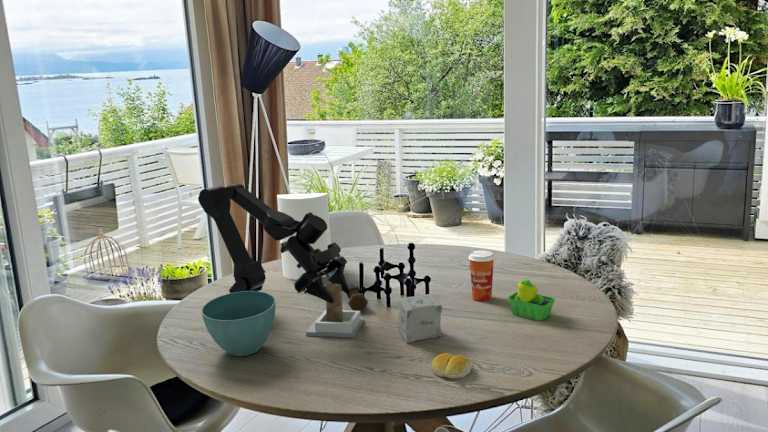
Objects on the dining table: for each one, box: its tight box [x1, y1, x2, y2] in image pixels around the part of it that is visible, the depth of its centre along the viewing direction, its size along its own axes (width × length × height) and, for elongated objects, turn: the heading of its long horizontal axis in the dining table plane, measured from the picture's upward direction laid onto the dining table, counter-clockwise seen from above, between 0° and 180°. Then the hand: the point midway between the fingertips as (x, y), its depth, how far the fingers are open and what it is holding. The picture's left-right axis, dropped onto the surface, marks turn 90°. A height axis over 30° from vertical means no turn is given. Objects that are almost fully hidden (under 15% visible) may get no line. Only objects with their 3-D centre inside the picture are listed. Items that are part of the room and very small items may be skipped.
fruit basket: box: [507, 278, 556, 322], centre depth 189 cm, size 11×9×11 cm
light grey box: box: [397, 293, 443, 344], centre depth 177 cm, size 10×8×10 cm
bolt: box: [345, 284, 369, 312], centre depth 206 cm, size 6×5×15 cm
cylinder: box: [276, 192, 332, 281], centre depth 236 cm, size 17×17×28 cm
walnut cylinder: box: [324, 283, 344, 322], centre depth 185 cm, size 4×4×11 cm
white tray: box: [305, 309, 365, 338], centre depth 186 cm, size 13×12×4 cm
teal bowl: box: [201, 290, 276, 357], centre depth 173 cm, size 18×18×12 cm
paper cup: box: [468, 250, 496, 303], centre depth 204 cm, size 8×8×14 cm
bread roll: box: [431, 352, 473, 380], centre depth 157 cm, size 8×9×4 cm
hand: (341, 297), depth 183 cm, fingers open, 8 cm apart
